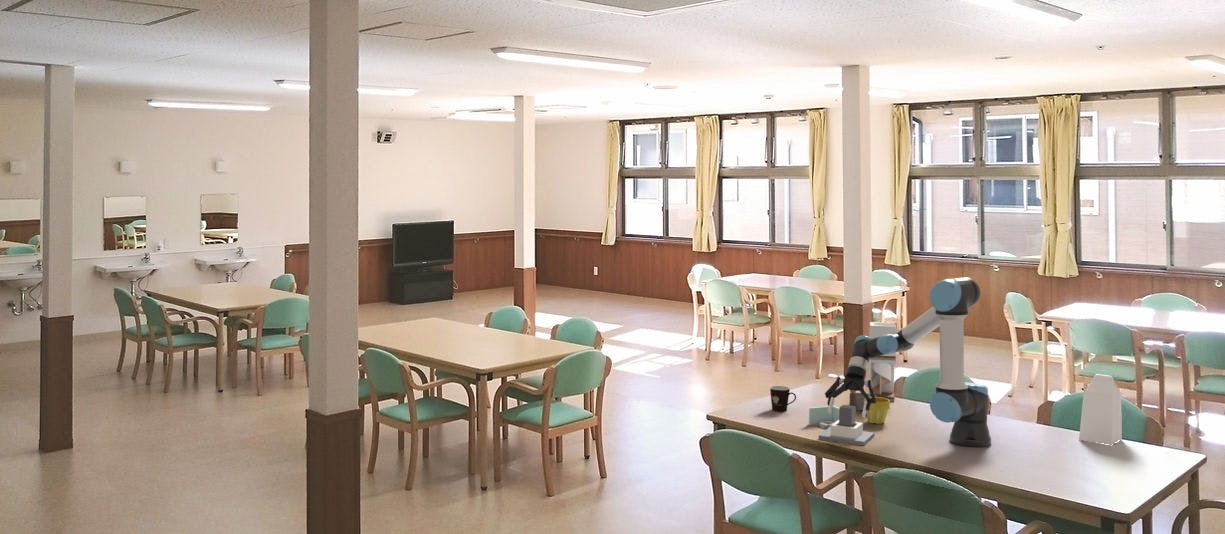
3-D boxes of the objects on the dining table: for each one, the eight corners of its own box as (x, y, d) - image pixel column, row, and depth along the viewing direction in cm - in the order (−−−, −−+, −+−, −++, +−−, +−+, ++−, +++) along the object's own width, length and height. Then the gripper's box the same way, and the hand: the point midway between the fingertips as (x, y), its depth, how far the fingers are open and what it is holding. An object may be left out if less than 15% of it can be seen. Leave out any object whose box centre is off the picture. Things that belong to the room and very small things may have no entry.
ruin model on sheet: (849, 411, 422) (849, 389, 421) (849, 409, 425) (850, 387, 424) (875, 412, 419) (876, 391, 418) (875, 411, 422) (876, 389, 421)
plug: (854, 433, 378) (855, 406, 377) (851, 436, 373) (852, 408, 372) (842, 431, 380) (843, 404, 379) (838, 434, 376) (839, 407, 375)
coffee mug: (765, 409, 423) (766, 386, 422) (781, 407, 427) (782, 385, 426) (780, 414, 413) (781, 392, 412) (797, 412, 417) (797, 390, 416)
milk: (1078, 440, 374) (1081, 375, 371) (1089, 434, 382) (1092, 370, 379) (1111, 446, 365) (1114, 379, 363) (1121, 440, 373) (1125, 375, 371)
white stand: (868, 400, 440) (870, 325, 437) (868, 395, 450) (870, 322, 447) (894, 401, 437) (896, 326, 434) (893, 396, 447) (895, 322, 444)
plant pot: (886, 419, 405) (887, 396, 405) (891, 425, 395) (892, 402, 394) (862, 418, 406) (862, 396, 406) (865, 425, 396) (866, 401, 395)
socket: (874, 436, 379) (874, 422, 378) (864, 445, 366) (864, 431, 365) (830, 430, 388) (830, 417, 387) (818, 439, 375) (818, 425, 374)
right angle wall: (808, 425, 397) (809, 407, 396) (833, 423, 401) (833, 405, 400) (824, 432, 386) (824, 414, 385) (849, 430, 390) (850, 412, 389)
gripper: (889, 378, 384) (879, 423, 372) (828, 372, 396) (817, 415, 384) (886, 367, 379) (876, 413, 367) (825, 362, 391) (813, 405, 379)
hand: (846, 414), depth 376 cm, fingers open, 13 cm apart
